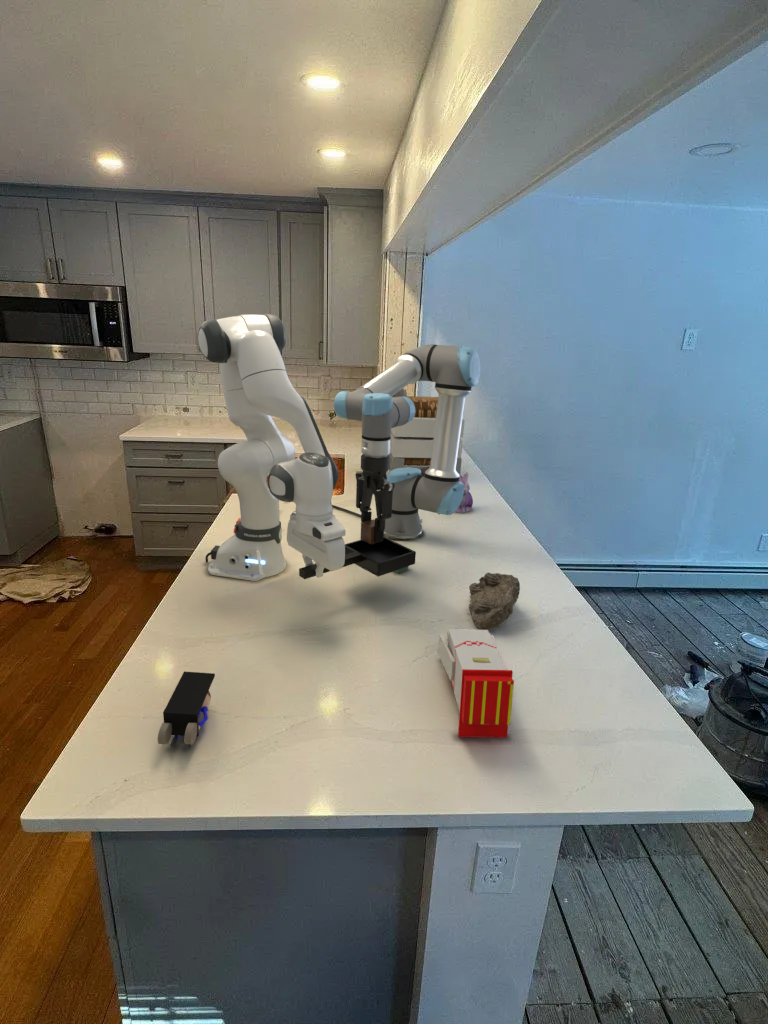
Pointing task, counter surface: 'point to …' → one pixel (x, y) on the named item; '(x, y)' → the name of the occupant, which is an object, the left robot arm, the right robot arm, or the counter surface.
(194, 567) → the counter surface
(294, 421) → the left robot arm
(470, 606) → the fossil
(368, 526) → the walnut block
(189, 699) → the figurine character
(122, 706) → the counter surface
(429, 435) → the transformer
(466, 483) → the figurine
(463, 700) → the toy
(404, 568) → the green block
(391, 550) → the pan
